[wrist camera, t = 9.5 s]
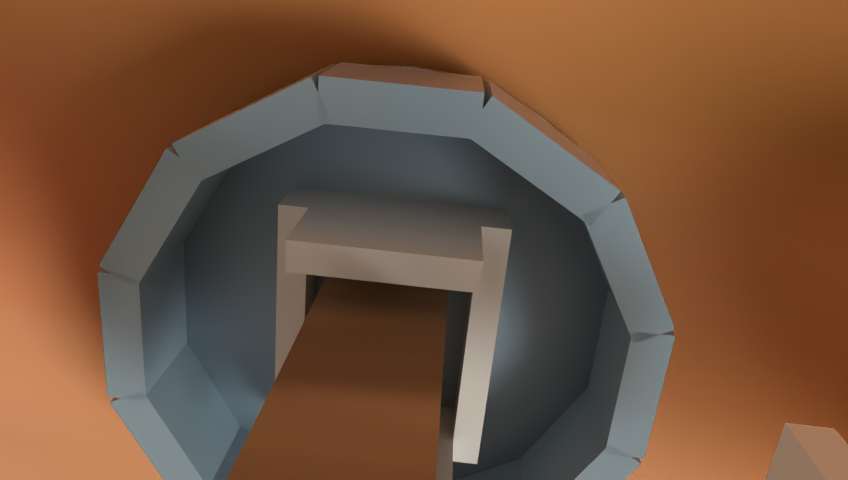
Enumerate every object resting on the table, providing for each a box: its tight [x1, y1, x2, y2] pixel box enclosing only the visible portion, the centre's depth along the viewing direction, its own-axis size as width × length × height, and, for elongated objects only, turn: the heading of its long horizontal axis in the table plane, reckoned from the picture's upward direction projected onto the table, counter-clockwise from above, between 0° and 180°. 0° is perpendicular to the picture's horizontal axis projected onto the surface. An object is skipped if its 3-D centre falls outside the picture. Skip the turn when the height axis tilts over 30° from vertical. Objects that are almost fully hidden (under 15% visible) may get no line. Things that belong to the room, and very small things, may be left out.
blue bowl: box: [97, 62, 675, 480], centre depth 14 cm, size 11×11×4 cm
